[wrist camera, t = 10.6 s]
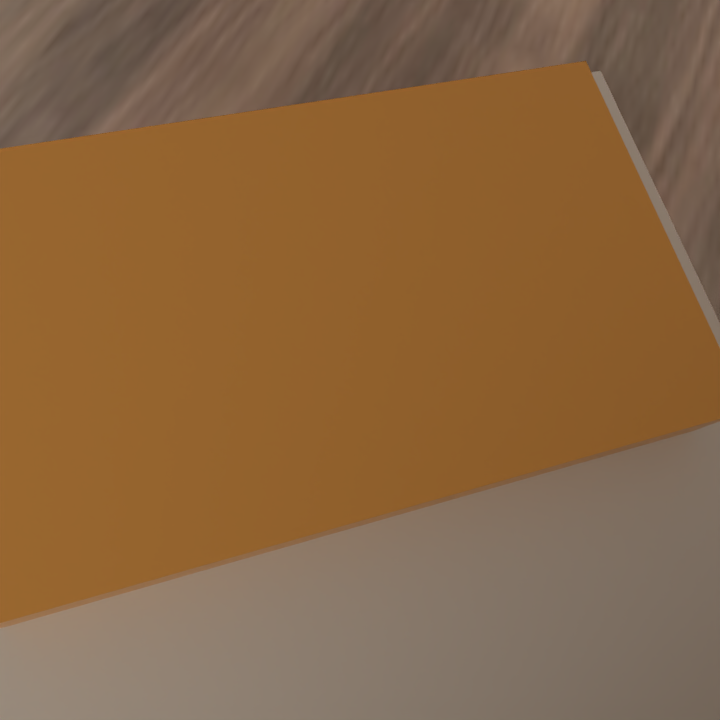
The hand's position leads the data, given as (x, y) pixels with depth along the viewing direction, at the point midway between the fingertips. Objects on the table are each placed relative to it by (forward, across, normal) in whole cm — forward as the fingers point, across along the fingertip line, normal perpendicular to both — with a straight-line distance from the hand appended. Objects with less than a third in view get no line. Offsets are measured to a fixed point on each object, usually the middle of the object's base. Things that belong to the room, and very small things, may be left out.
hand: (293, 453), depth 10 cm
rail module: (+2, 0, +4) cm, 5 cm away
